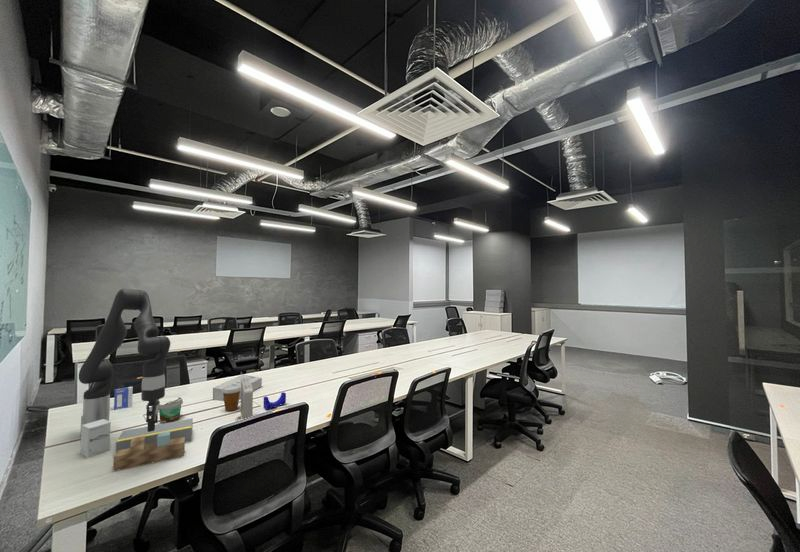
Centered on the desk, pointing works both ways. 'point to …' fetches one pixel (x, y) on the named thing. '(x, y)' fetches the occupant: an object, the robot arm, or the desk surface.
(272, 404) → the blue arch block
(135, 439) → the crate kraft
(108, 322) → the robot arm
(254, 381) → the warehouse
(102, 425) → the supplement box
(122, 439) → the block
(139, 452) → the brown stepped block
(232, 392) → the disposable coffee cup
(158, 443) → the crate teal
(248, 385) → the network device
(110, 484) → the desk surface
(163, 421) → the food container
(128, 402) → the walkman
